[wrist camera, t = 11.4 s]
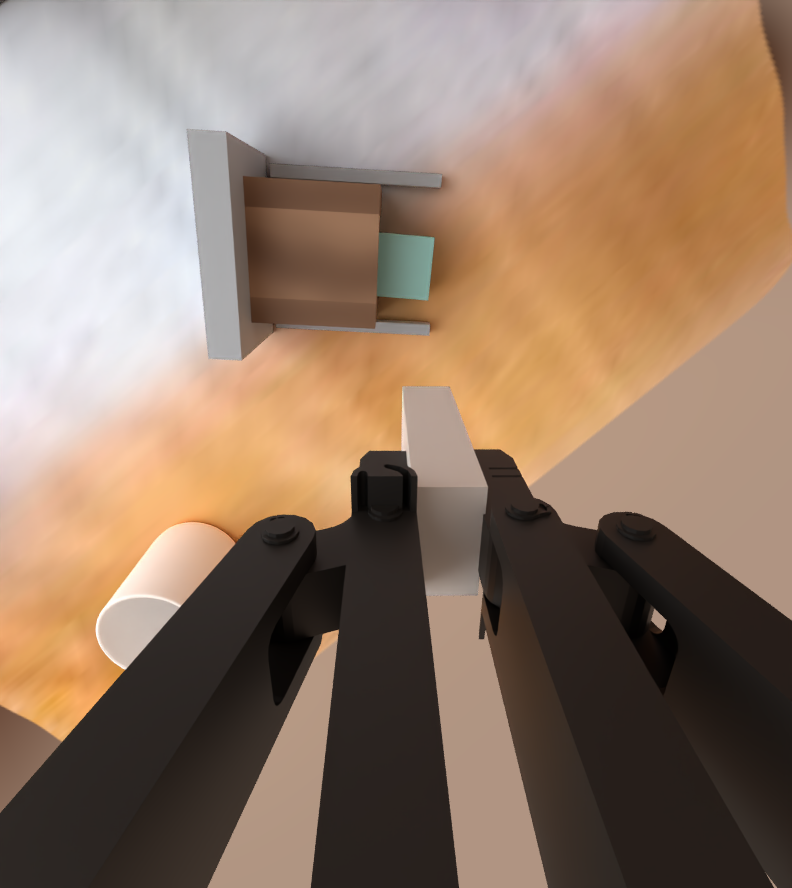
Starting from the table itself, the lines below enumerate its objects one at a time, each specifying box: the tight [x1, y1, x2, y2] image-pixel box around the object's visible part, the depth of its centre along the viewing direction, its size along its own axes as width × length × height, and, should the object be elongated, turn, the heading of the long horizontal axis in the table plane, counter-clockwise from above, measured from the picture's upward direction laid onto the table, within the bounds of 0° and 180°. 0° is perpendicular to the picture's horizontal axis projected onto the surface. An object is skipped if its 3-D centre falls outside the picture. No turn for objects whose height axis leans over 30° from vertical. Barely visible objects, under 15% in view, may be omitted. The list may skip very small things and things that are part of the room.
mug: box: [96, 522, 235, 670], centre depth 43 cm, size 12×8×10 cm
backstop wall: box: [187, 129, 442, 360], centre depth 33 cm, size 12×14×9 cm
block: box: [243, 176, 382, 329], centre depth 34 cm, size 8×8×6 cm
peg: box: [377, 232, 435, 300], centre depth 35 cm, size 4×10×4 cm, turn 85°
